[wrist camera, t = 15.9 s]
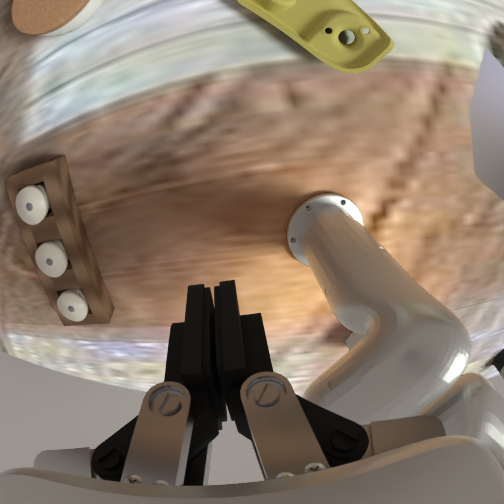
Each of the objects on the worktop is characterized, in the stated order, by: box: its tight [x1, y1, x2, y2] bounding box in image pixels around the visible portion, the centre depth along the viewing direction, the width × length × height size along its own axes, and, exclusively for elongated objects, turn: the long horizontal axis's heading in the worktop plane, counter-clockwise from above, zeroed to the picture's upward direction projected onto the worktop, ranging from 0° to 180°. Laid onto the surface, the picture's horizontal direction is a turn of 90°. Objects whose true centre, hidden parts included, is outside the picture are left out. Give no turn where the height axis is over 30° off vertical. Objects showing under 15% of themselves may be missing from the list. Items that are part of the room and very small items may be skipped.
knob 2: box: [35, 238, 69, 277], centre depth 39 cm, size 6×6×5 cm
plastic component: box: [237, 0, 394, 73], centre depth 28 cm, size 20×7×10 cm
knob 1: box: [16, 181, 51, 225], centre depth 35 cm, size 6×6×5 cm
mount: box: [5, 155, 114, 326], centre depth 40 cm, size 28×10×4 cm, turn 5°
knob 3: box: [57, 288, 88, 321], centre depth 44 cm, size 6×6×5 cm
